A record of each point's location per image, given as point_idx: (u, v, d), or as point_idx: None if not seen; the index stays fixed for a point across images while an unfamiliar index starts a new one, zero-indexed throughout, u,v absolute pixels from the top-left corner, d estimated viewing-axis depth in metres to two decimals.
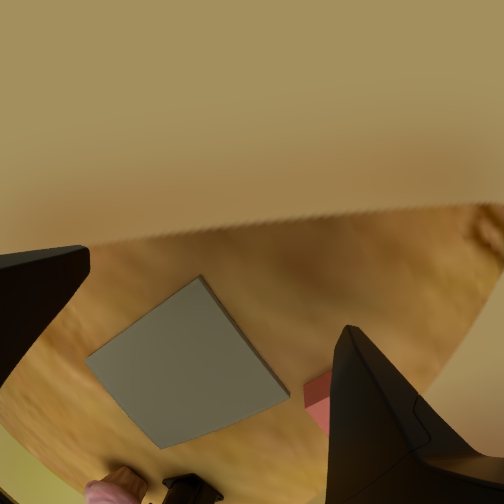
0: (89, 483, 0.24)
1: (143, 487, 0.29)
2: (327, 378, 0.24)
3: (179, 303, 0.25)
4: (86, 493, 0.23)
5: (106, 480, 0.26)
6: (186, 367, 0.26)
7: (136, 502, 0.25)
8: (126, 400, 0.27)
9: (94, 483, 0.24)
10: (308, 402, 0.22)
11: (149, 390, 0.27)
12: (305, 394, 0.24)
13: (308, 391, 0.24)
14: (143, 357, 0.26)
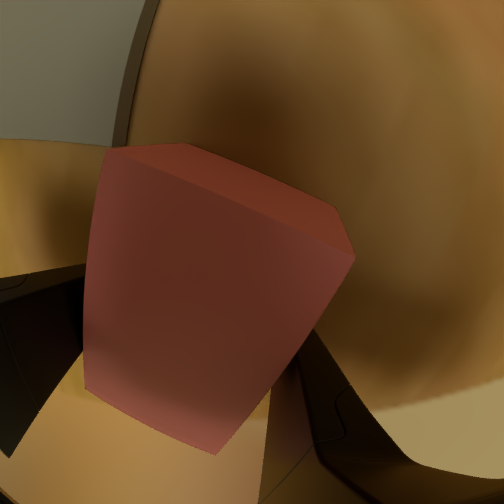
0: None
1: None
2: (250, 176, 0.07)
3: None
4: None
5: None
6: None
7: None
8: None
9: None
10: (138, 151, 0.05)
11: None
12: (160, 145, 0.07)
13: (175, 149, 0.07)
14: None
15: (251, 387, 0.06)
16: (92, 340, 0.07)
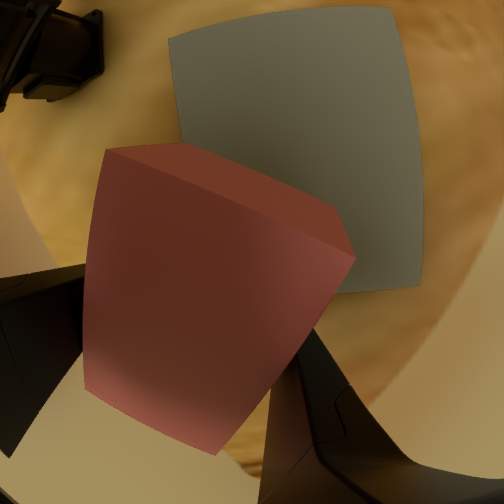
0: None
1: None
2: (250, 176, 0.07)
3: (410, 246, 0.16)
4: None
5: None
6: (322, 193, 0.16)
7: None
8: (292, 33, 0.13)
9: None
10: (137, 151, 0.05)
11: (302, 94, 0.14)
12: (160, 145, 0.07)
13: (174, 149, 0.07)
14: (366, 130, 0.14)
15: (251, 387, 0.06)
16: (92, 340, 0.07)
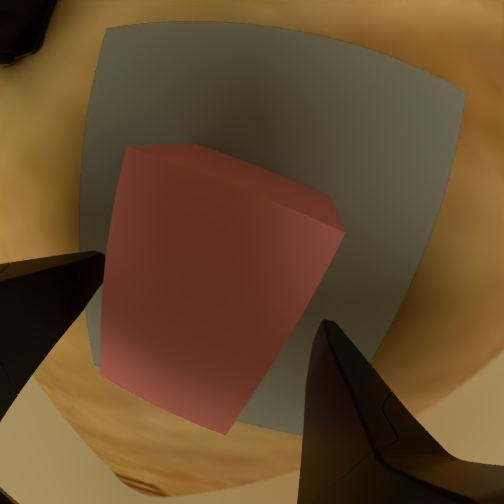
0: None
1: None
2: (252, 170, 0.08)
3: None
4: None
5: None
6: None
7: None
8: (282, 73, 0.08)
9: None
10: (153, 149, 0.06)
11: None
12: (171, 144, 0.08)
13: (184, 147, 0.08)
14: (327, 275, 0.10)
15: (258, 359, 0.07)
16: (109, 323, 0.08)
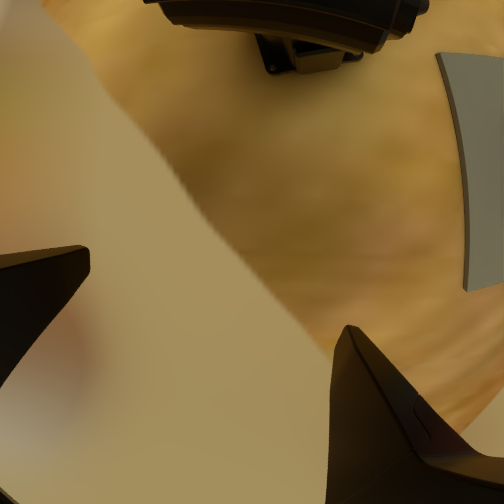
0: None
1: None
2: None
3: None
4: None
5: None
6: None
7: None
8: None
9: None
10: None
11: None
12: None
13: None
14: None
15: None
16: None
